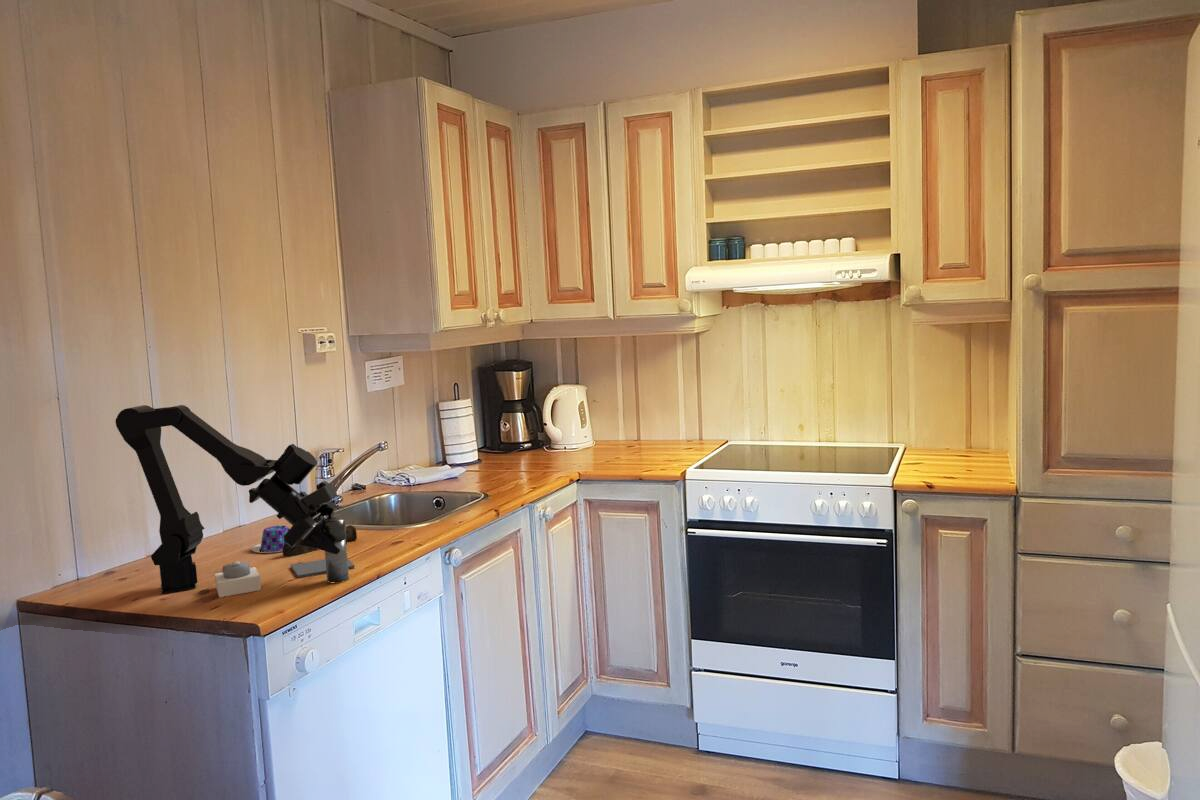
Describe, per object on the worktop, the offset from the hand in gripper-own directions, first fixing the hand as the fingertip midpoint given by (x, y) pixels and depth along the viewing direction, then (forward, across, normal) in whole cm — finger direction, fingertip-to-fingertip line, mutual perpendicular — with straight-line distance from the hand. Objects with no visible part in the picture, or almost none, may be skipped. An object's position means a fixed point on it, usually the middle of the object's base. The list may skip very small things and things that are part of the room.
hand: (342, 549), depth 188 cm
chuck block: (-10, -3, +20) cm, 23 cm away
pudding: (-13, +31, +23) cm, 40 cm away
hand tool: (-5, +27, +15) cm, 31 cm away
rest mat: (-1, +10, +10) cm, 14 cm away
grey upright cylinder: (+4, 0, +6) cm, 7 cm away
